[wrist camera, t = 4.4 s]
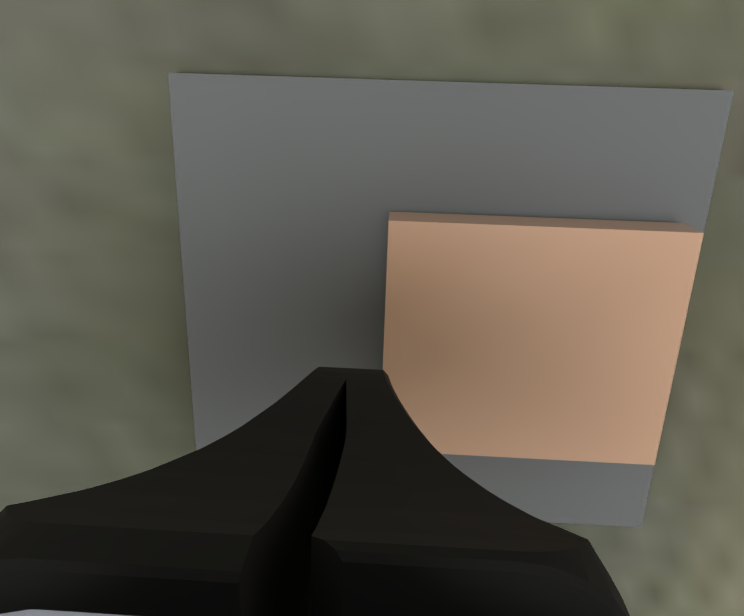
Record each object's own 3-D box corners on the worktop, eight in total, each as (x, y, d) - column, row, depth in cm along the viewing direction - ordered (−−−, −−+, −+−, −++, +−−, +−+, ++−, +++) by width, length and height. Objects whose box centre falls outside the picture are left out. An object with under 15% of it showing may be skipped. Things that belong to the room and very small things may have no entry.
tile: (381, 422, 17) (634, 435, 17) (379, 450, 16) (654, 465, 16) (389, 209, 15) (677, 220, 15) (388, 220, 14) (704, 233, 14)
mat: (633, 513, 19) (641, 527, 18) (205, 490, 19) (199, 502, 19) (721, 90, 15) (734, 91, 14) (176, 73, 15) (168, 72, 15)
